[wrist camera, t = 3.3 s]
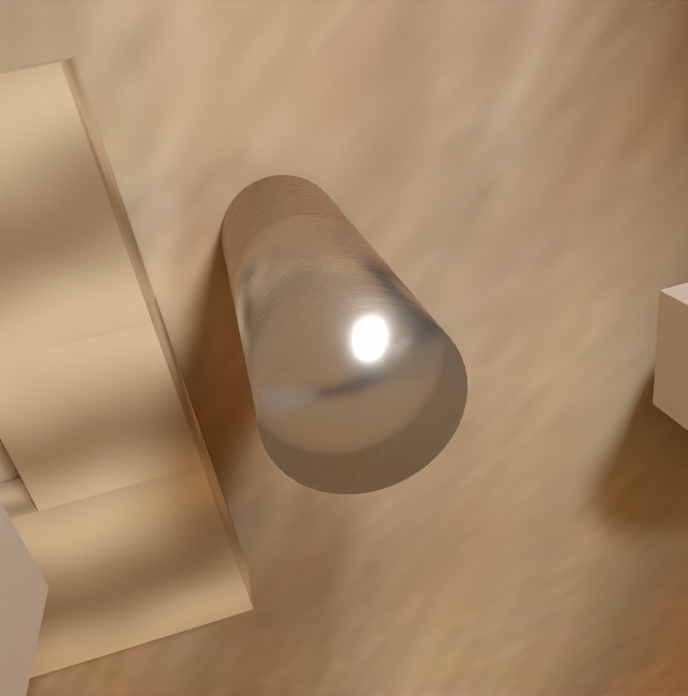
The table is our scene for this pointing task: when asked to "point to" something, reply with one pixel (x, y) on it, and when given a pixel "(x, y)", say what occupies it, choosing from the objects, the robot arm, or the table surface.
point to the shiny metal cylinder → (335, 344)
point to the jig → (96, 399)
